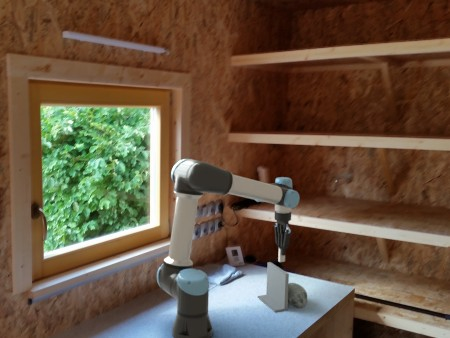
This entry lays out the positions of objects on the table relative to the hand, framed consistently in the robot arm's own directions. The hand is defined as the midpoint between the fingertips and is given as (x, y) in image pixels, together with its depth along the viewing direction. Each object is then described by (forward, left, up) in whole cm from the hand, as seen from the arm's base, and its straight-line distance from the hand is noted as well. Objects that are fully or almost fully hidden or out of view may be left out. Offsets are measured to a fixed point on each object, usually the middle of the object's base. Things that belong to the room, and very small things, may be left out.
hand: (281, 261), depth 214 cm
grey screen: (-10, -10, -15) cm, 21 cm away
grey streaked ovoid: (0, -13, -15) cm, 20 cm away
